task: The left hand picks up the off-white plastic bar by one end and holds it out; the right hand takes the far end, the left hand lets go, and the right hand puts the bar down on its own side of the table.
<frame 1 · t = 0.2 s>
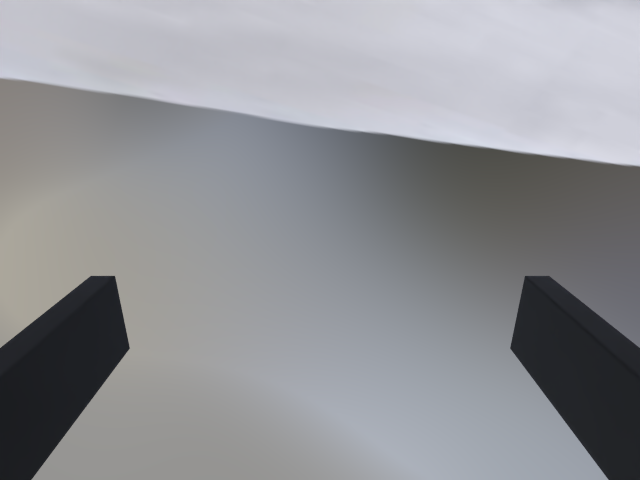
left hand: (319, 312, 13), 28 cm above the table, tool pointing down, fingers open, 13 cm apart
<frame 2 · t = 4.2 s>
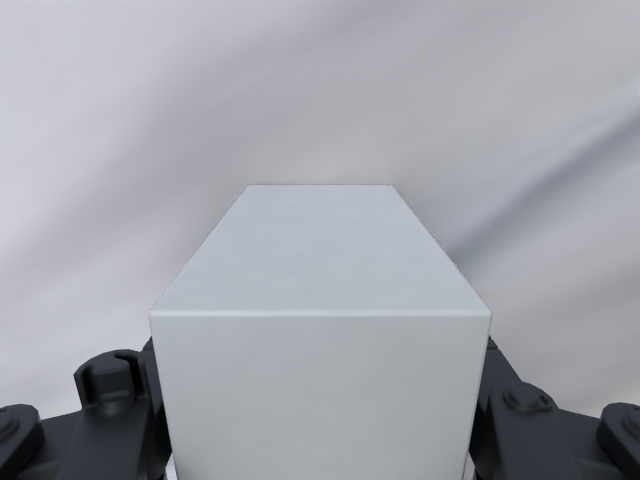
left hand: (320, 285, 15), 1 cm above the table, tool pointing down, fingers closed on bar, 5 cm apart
bar: (319, 471, 19), on the table, touching left hand
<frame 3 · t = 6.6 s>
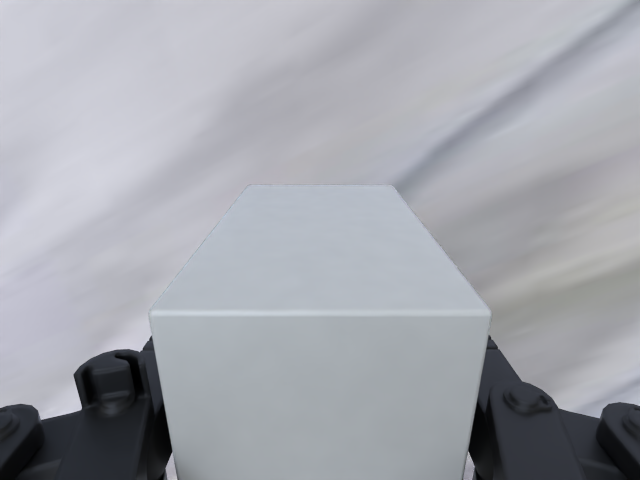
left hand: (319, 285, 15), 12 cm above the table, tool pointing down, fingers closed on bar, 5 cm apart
bar: (320, 471, 19), point 11 cm above the table, touching left hand
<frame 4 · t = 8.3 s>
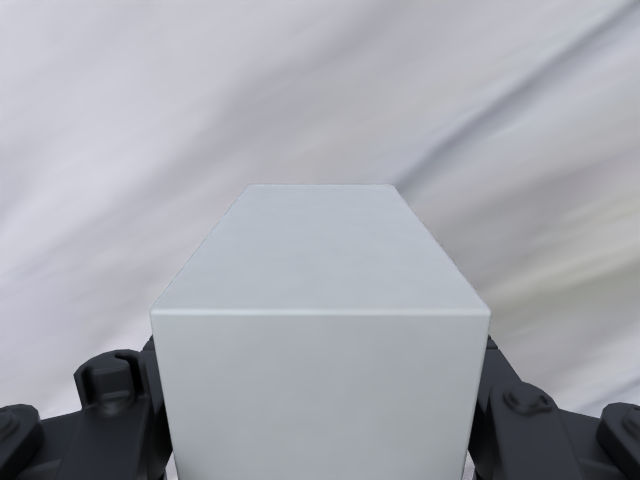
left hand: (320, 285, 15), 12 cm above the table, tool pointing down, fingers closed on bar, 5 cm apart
bar: (319, 470, 19), point 11 cm above the table, touching left hand, right hand
when the left hand's fingers open (12 cm above the table, at t = 9.2 s): bar stays where it is, held by the right hand.
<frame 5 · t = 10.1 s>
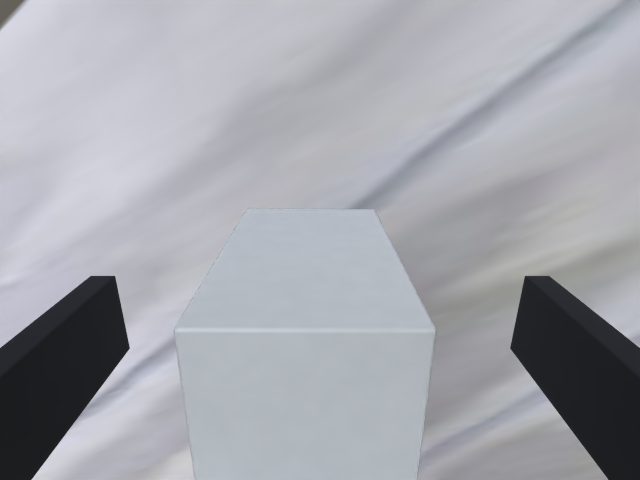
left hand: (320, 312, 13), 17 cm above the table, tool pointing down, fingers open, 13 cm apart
bar: (310, 465, 20), point 14 cm above the table, touching right hand
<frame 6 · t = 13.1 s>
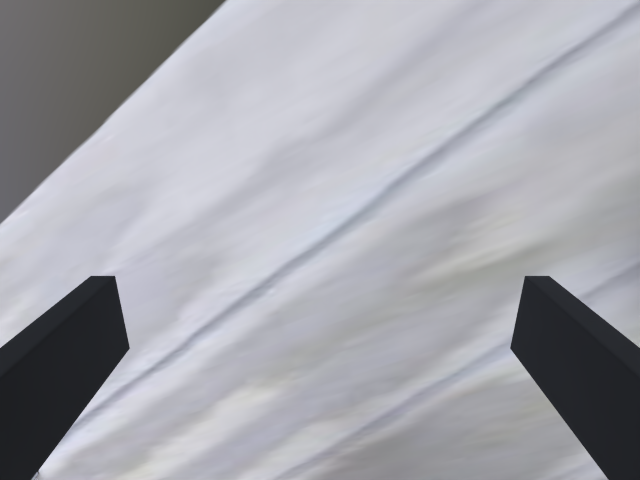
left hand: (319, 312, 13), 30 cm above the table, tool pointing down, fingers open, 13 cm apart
when the right hand's fingers open (6 cm above the table, at t = 18.1 s): bar drops 2 cm, on the table.
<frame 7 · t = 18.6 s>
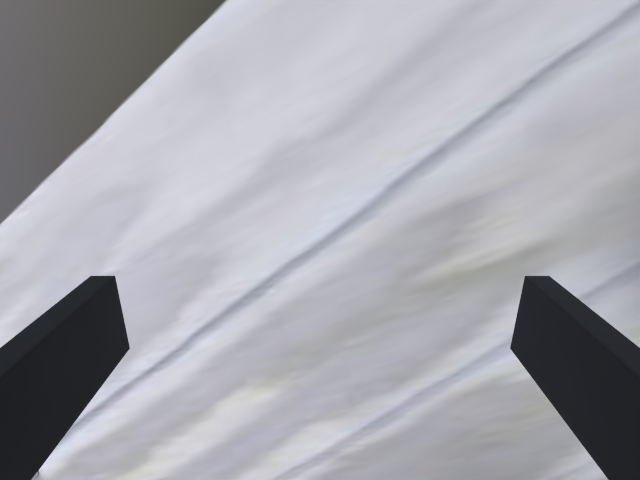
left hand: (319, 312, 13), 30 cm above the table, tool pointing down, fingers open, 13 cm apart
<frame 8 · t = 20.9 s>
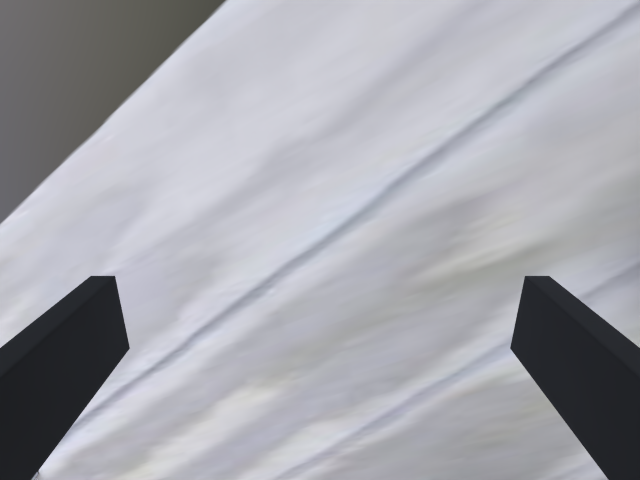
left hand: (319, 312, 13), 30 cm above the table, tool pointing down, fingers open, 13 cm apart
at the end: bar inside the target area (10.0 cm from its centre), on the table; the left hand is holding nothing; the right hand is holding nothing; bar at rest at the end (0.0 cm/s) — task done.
